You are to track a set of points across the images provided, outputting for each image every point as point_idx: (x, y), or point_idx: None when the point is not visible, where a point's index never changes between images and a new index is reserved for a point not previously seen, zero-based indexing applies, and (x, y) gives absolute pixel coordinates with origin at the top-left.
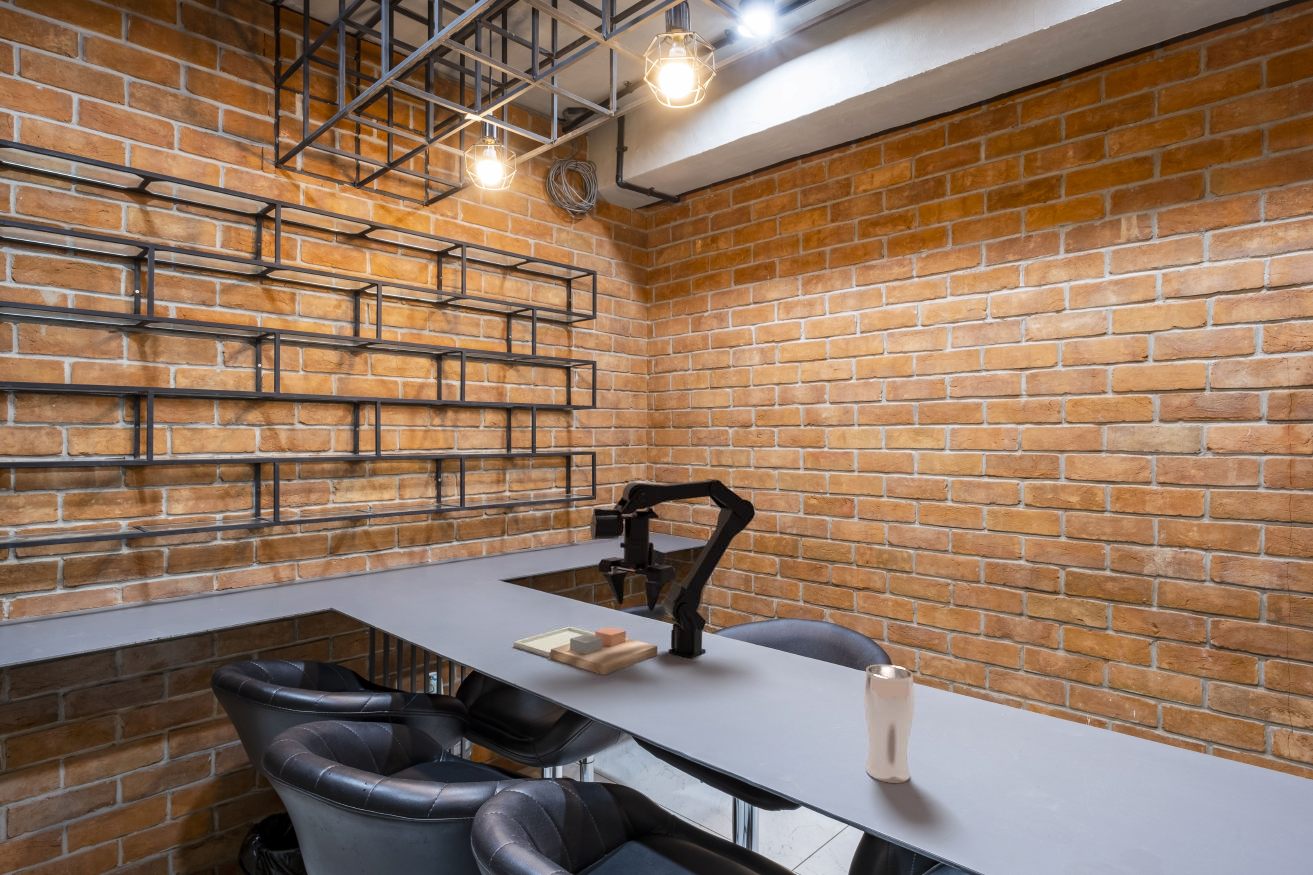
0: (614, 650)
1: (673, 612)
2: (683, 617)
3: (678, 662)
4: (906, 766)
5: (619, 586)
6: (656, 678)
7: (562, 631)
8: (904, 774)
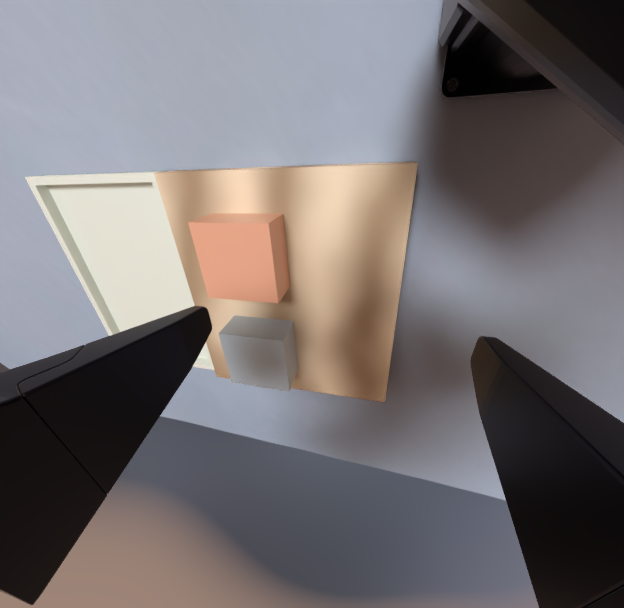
0: (325, 307)
1: None
2: None
3: (544, 177)
4: None
5: (111, 412)
6: (526, 346)
7: (58, 216)
8: None
